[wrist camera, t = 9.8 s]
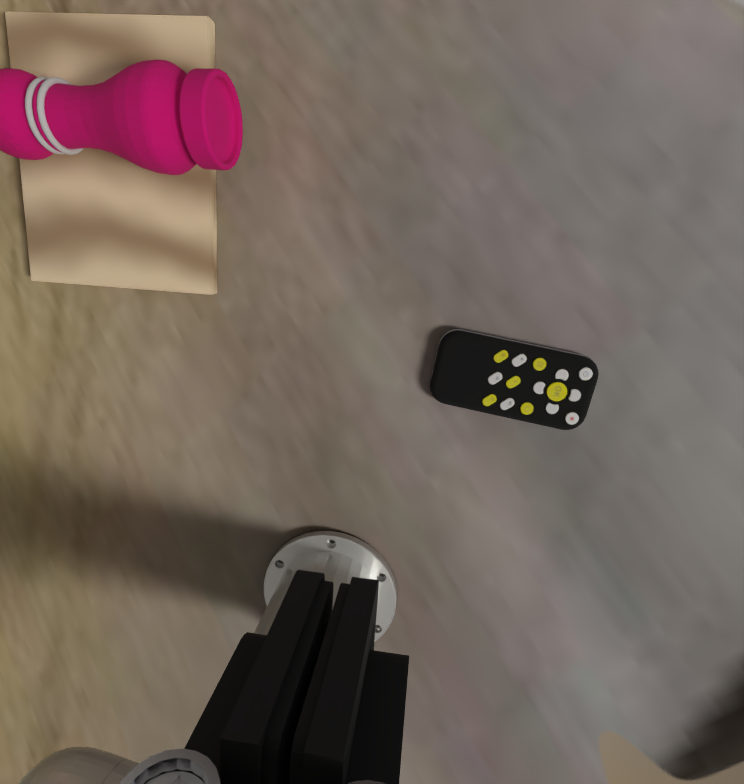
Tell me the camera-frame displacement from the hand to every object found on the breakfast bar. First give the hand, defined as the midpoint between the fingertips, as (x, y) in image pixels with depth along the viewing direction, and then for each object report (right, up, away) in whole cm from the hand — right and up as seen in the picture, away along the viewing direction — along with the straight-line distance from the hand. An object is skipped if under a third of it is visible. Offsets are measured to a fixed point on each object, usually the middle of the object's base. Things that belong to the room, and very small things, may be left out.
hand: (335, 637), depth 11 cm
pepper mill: (-9, +24, +26) cm, 37 cm away
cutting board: (-20, +24, +33) cm, 45 cm away
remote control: (+12, +6, +34) cm, 37 cm away
